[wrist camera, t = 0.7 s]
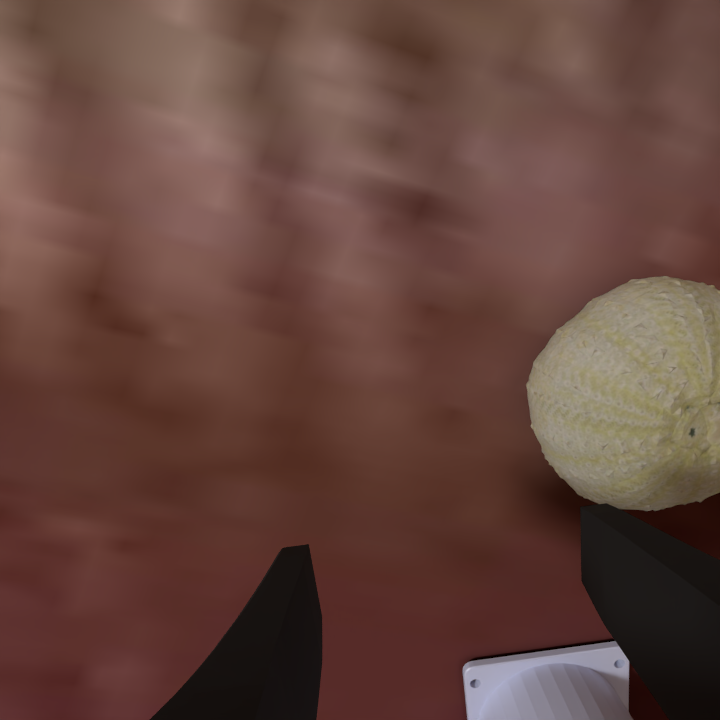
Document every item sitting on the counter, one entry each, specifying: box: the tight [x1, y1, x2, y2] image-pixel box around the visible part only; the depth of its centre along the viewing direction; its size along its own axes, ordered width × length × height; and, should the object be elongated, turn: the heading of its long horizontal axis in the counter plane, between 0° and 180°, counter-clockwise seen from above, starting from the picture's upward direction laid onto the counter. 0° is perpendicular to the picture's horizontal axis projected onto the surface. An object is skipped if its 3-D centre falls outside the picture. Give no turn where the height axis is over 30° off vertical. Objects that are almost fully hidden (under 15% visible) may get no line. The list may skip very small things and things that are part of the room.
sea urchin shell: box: [526, 276, 720, 511], centre depth 19 cm, size 9×8×8 cm
